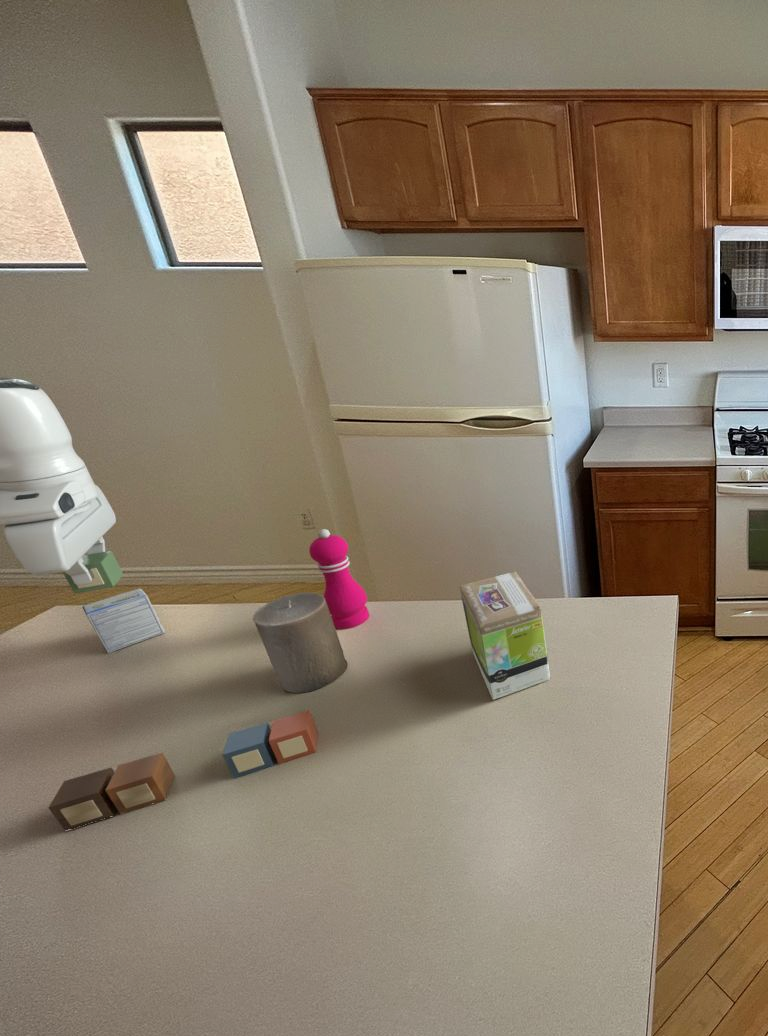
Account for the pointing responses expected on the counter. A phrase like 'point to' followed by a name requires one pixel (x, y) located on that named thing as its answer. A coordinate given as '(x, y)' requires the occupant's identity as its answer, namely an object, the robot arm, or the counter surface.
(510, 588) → the tea box
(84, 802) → the walnut letter block
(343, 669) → the pillar candle
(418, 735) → the counter surface
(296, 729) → the terracotta letter block
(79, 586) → the sage green letter block
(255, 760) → the slate blue letter block
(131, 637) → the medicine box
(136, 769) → the teak letter block
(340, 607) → the pepper mill
